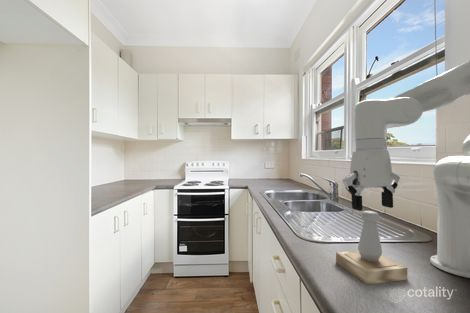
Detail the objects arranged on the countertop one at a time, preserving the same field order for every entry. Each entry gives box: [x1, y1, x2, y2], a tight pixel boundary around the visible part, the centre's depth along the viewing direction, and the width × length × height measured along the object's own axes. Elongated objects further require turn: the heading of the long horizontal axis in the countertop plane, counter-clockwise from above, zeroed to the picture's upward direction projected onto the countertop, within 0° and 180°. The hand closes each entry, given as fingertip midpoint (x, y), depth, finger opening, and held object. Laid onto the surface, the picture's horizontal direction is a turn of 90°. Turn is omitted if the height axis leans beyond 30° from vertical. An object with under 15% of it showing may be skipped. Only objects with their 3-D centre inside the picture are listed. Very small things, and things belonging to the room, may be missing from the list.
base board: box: [335, 250, 408, 286], centre depth 64 cm, size 12×12×3 cm
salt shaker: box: [357, 210, 383, 262], centre depth 64 cm, size 6×6×13 cm
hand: (372, 208), depth 64 cm, fingers open, 9 cm apart
